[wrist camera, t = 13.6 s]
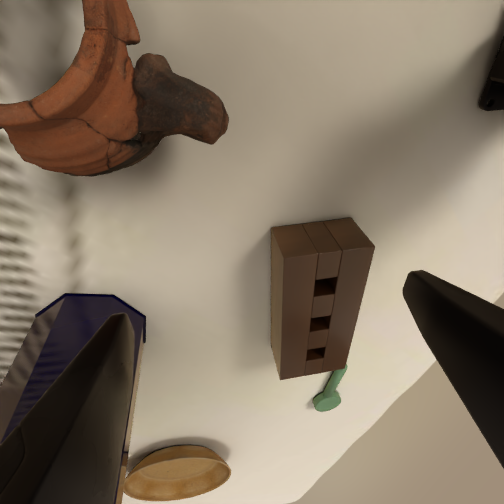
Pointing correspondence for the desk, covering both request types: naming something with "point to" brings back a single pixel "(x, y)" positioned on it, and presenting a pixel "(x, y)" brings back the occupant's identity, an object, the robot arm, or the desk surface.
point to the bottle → (65, 358)
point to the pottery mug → (110, 103)
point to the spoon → (330, 393)
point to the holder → (316, 294)
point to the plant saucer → (176, 474)
